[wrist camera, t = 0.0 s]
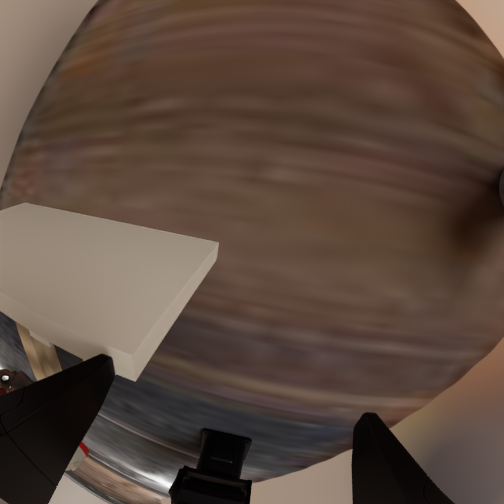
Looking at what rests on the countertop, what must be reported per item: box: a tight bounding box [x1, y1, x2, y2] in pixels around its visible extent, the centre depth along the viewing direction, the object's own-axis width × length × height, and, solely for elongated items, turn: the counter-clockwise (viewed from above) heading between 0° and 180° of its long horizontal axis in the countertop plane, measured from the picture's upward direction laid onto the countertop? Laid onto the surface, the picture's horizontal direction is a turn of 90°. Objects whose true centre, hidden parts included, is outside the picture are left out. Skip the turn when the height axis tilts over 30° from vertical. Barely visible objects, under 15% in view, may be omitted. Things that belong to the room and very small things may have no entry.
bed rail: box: [15, 321, 62, 381], centre depth 28 cm, size 23×6×5 cm, turn 170°
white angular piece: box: [0, 203, 219, 382], centre depth 18 cm, size 12×24×14 cm, turn 80°
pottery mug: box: [0, 369, 32, 393], centre depth 35 cm, size 12×10×8 cm
